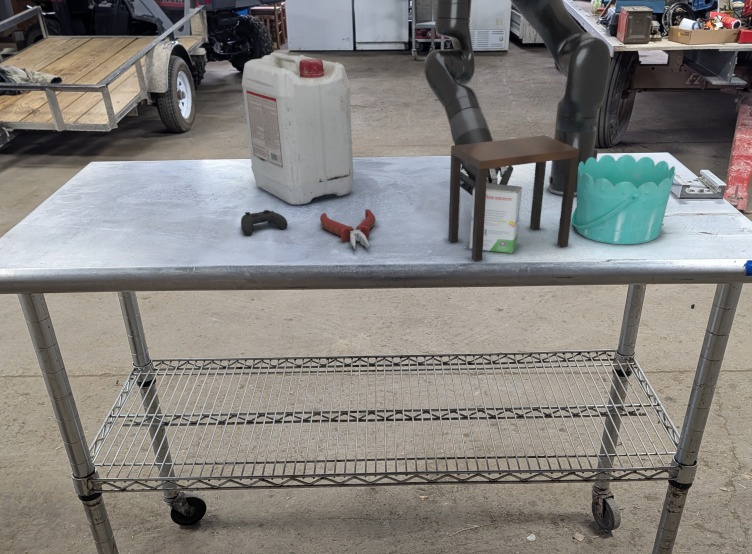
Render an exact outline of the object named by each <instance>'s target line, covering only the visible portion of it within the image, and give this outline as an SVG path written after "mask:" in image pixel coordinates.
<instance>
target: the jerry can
mask: <svg viewBox="0 0 752 554" xmlns="http://www.w3.org/2000/svg"><path fill="white" fill-rule="evenodd" d="M243 66H244V68H243V72H242V80H241V87H242V93H243V101H244V108H245V109H244V110H245V116H246V126H247V133H248V134H247V135H248V143H249V144H248V145H249V153H250V160H251V161H250V163H251V165H250V166H251V172H252V174H253V178H254V183H255V185H256V187H258V188H260V189H262V190H264V191H266V192H267V193H270V194H271V195H273V196H275V197H276V198H278V199H280V200H281V201H283V202H286V203H288V204H289V205H293V206H296V205H298V206H300V205H305V204H309V203H310V202H311V201H312V200H313V199H315V198H319V197H322V196H325V195H332V194H333V195H334V196H338V197H341V196H346V195H349V194H350V192H351V191H352V190H353V181H354V173H355V172H354V161H353V160H354V157H353V139H352V136H353V135H352V134H353V133H352V112H351V85H350V81H349V78H348V75H347V72H346V69H345V66H344V65H343V64H342V63H339V62H338V61H336V62H333V61H329V60H325V59H318V58H315V57H309V56H305V54H300V55H292V54H291V55H288V54H285V53H281V52H271V53H270V54H268V55H265V54H264V56H262V57H261V58H255V59H250V60H248V61H246V62H245V63H244V65H243Z"/></svg>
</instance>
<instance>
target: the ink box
mask: <svg viewBox="0 0 752 554" xmlns="http://www.w3.org/2000/svg"><path fill="white" fill-rule="evenodd" d="M522 191H523V186H519V185H509V184H507V185H501V184H499V183H497V184H491V183H487V184H486V202H485V219H484V237H483V251H489V252H496V253H504V254H505V253H506V254H513V253H514V251H515V249H516V247H517V241H518V239H517V238H518V233H519V222H520V221H519V220H520V212H521V211H520V210H521V201H522ZM471 197H472V198H471V214H470V215H471V216H470V218H471V219H470V232H469V249H471V250H472V241H473V221H474V200H475V187H474V188H473V195H472V196H471Z"/></svg>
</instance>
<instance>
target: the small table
mask: <svg viewBox="0 0 752 554" xmlns="http://www.w3.org/2000/svg"><path fill="white" fill-rule="evenodd" d="M578 157H579V149H577V148H575V147H572V146H570V145H567V144H565V143H562V142H560V141H557V140H555V139H554V138H552V137H549V136H547V135H536V136H527V137H520V138H519V137H518V138H510V139H501V140H493V141H491V142H482V143H473V144H464V145H455V144H454V145H451V146H450V175H449V176H450V177H449V206H448V209H449V210H448V238H447V239H448V242H449V243H451V244H453V243H459V227H460V226H459V225H460V203H461V202H460V200H461V187H460V176H461V167H462V164H461V160H463V161H465V162H467V163H469V164H470V165H472V166H474V167H476V180H475V200H474V221H473V241H472V249H471V260H473V262H482V261H483V253H484V250H483V237H484V219H485V202H486V184H487V169H490V168H498V167H508V166H512V167H514V166H520V165H521V166H522V165H529V164H535V167H534V177H533V188H532V198H531V199H532V200H531V208H530V209H531V210H530V219H529V220H530V222H529V229H530V230H532V231H537V230H540V229H541V219H542V218H541V217H542V210H543V209H542V208H543V199H544V188H545V179H546V168H547V162H552V161H554V160H562V159H567V163H566V171H565V180H564V189H563V195H562V199H561V207H560V215H559V223H558V224H559V225H558V234H557V240H556V241H557V243H556V245H557V246H558V247H560V248H566V247H568V246H569V239H570V229H571V223H572V215H573V205H574V197H575V196H574V190H575V182H576V174H577V166H578Z"/></svg>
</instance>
